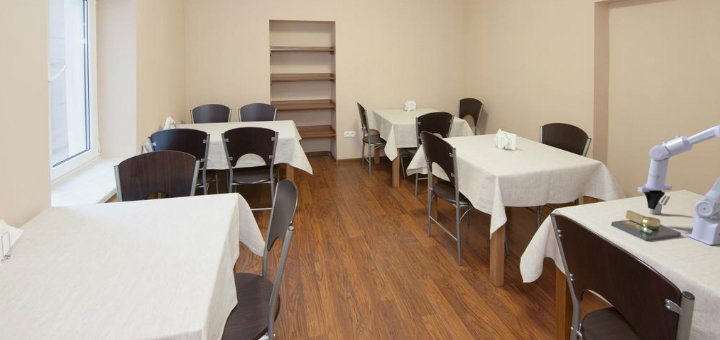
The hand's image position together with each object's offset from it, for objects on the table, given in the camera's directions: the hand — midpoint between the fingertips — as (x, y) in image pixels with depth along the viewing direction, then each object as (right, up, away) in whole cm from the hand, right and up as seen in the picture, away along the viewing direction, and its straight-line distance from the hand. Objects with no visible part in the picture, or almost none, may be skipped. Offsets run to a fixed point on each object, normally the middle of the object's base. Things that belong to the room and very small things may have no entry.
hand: (651, 208), depth 178 cm
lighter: (+11, -3, +13) cm, 18 cm away
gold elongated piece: (-6, -6, -3) cm, 9 cm away
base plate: (-6, -8, -6) cm, 12 cm away
